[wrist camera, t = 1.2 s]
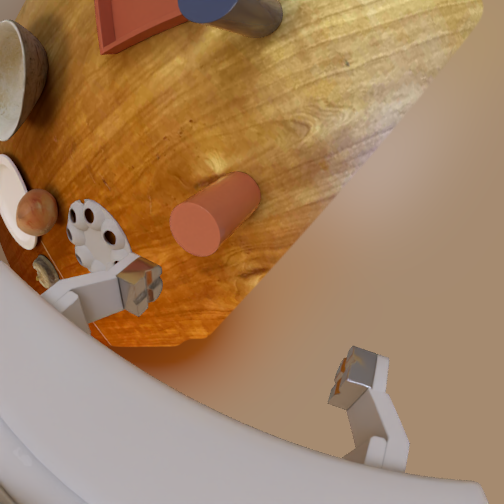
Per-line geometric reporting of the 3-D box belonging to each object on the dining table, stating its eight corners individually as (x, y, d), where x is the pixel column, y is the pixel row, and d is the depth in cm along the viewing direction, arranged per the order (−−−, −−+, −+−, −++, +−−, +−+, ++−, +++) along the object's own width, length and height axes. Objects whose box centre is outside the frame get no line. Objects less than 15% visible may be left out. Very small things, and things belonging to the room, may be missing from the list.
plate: (19, 244, 74) (14, 248, 72) (-9, 163, 61) (-15, 166, 59) (54, 247, 62) (47, 252, 60) (19, 140, 49) (11, 143, 47)
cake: (50, 254, 66) (37, 265, 62) (65, 285, 71) (53, 296, 67) (34, 252, 69) (22, 262, 65) (48, 281, 74) (36, 291, 70)
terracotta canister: (266, 181, 33) (225, 216, 26) (254, 222, 37) (215, 265, 29) (222, 164, 34) (172, 194, 27) (214, 205, 38) (167, 242, 30)
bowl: (81, 79, 35) (29, 90, 27) (33, 147, 48) (-4, 163, 40) (51, -7, 28) (6, -4, 20) (8, 68, 40) (-27, 78, 32)
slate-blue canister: (288, -3, 21) (249, -36, 14) (275, 42, 25) (231, 26, 17) (238, -10, 22) (186, -35, 15) (227, 34, 26) (170, 21, 18)
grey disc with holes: (94, 181, 45) (85, 185, 43) (152, 277, 50) (145, 284, 49) (58, 220, 55) (52, 224, 54) (104, 294, 61) (98, 299, 60)
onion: (65, 231, 56) (31, 254, 49) (42, 206, 56) (9, 225, 48) (68, 199, 50) (29, 221, 42) (43, 173, 50) (6, 192, 42)
